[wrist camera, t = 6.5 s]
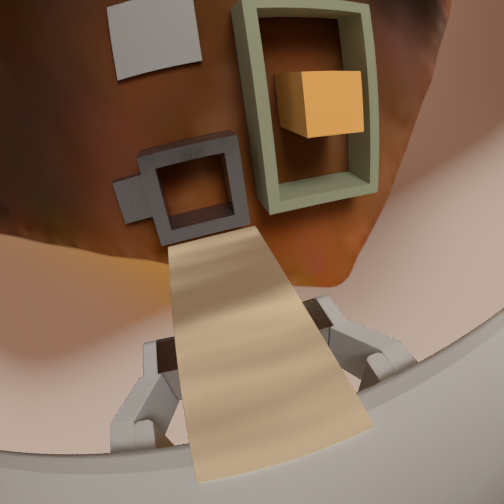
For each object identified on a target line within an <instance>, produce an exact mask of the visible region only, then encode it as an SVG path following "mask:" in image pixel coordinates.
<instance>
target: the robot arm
mask: <svg viewBox="0 0 504 504" xmlns="http://www.w3.org/2000/svg"><path fill="white" fill-rule="evenodd" d="M302 303H303V305H304V306H305V308H306V310H307V311H308V313H309V315H310V316H311V318H312V320H313V321H314V323H315V325H316V326H317V328H318V330H319V331H320V333H321V335H322V336H323V338H324V340H325V341H326V343H327V345H328V346H329V348H330V350H331V351H332V353H333V355H334V357H335V358H336V360H337V362H338V363H339V365H340V367H341V368H342V369H344V370H346V371H347V372H349V373H351V374H352V375H354V376H356V377H357V378H359V379H361V384H360V387H359V390H358V392H356V394H357V396H358V397H359V399H360V401H361V403H362V404H363V406H364V408H365V409H366V411H367V413H368V415H369V416H370V418H371V420H372V422H373V423H374V427H373V428H371V429H369V430H367V431H364V432H362V433H360V434H358V435H356V436H353V437H351V438H349V439H346V440H344V441H342V442H339V443H337V444H334V445H332V446H329V447H327V448H324V449H322V450H319V451H316V452H313V453H311V454H308V455H305V456H302V457H299V458H296V459H293V460H290V461H287V462H284V463H281V464H277V465H274V466H270V467H267V468H263V469H260V470H256V471H252V472H248V473H244V474H240V475H235V476H231V477H226V478H222V479H216V480H211V481H206V482H200V483H198V482H197V479H196V474H195V469H194V464H193V459H192V454H191V449H190V443H188V444H182V445H177V446H174V445H173V444H172V443H171V442H170V440H169V439H168V438H167V437H166V436H165V433H166V430H167V428H168V426H169V424H170V421H171V419H172V416H173V414H174V412H175V409H176V407H177V405H178V403H179V401H178V400H182V394H181V387H180V380H179V372H178V364H177V355H176V346H175V337H169V338H164V339H159V340H156V341H151V342H145V343H144V345H143V377H141V378H139V380H138V381H137V383H136V385H135V386H134V388H133V389H132V391H131V392H130V394H129V395H128V397H127V398H126V400H125V402H124V403H123V405H122V406H121V408H120V409H119V411H118V413H117V414H116V415H115V417H114V419H113V420H112V422H111V424H110V441H111V442H110V445H111V446H110V447H111V453H104V454H69V455H68V454H66V455H65V454H36V453H22V452H11V451H2V450H0V504H504V308H503V309H502V310H500V311H499V312H498V313H496V314H495V315H494V316H492V317H491V318H489V319H488V320H487V321H485V322H484V323H482V324H481V325H479V326H478V327H476V328H475V329H473V330H472V331H470V332H469V333H467V334H466V335H464V336H463V337H461V338H459V339H458V340H457V341H455V342H453V343H451V344H450V345H448V346H447V347H445V348H443V349H441V350H440V351H438V352H436V353H435V354H433V355H431V356H429V357H427V358H426V359H424V360H422V361H420V362H417V361H416V359H415V358H414V357H413V356H412V354H411V353H410V352H409V350H408V349H407V348H406V346H405V345H404V344H403V343H402V341H400V340H398V339H395V338H393V337H390V336H388V335H386V334H383V333H381V332H378V331H375V330H373V329H371V328H368V327H366V326H364V325H361V324H359V323H356V322H354V321H352V320H349V321H346V319H345V318H344V316H343V315H342V313H341V312H340V311H339V309H338V308H337V307H336V305H335V304H334V302H333V301H332V300H331V298H330V297H329V296H328V295H327V294H326V295H322V296H320V297H316V298H314V299H310V300H307V301H304V302H302Z"/></svg>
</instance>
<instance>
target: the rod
mask: <svg viewBox="0 0 504 504" xmlns="http://www.w3.org/2000/svg"><path fill="white" fill-rule="evenodd" d="M168 257H169V275H170V290H171V304H172V315H173V325H174V337H175V346H176V355H177V364H178V372H179V380H180V387H181V394H182V401H183V408H184V414H185V420H186V426H187V432H188V438H189V443H190V449H191V454H192V459H193V464H194V469H195V474H196V479H197V482H198V483H200V482H206V481H211V480H216V479H222V478H226V477H231V476H235V475H240V474H244V473H248V472H252V471H256V470H260V469H263V468H267V467H270V466H274V465H277V464H281V463H284V462H287V461H290V460H293V459H296V458H299V457H302V456H305V455H308V454H311V453H313V452H316V451H319V450H322V449H324V448H327V447H329V446H332V445H334V444H337V443H339V442H342V441H344V440H346V439H349V438H351V437H353V436H356V435H358V434H360V433H362V432H364V431H367V430H369V429H371V428H373V427H374V423H373V422H372V420H371V418H370V416H369V415H368V413H367V411H366V409H365V408H364V406H363V404H362V403H361V401H360V399H359V397H358V396H357V394H356V392H355V391H354V389H353V387H352V385H351V384H350V382H349V380H348V379H347V377H346V375H345V374H344V372H343V370H342V368H341V367H340V365H339V363H338V362H337V360H336V358H335V357H334V355H333V353H332V351H331V350H330V348H329V346H328V345H327V343H326V341H325V340H324V338H323V336H322V335H321V333H320V331H319V330H318V328H317V326H316V325H315V323H314V321H313V320H312V318H311V316H310V315H309V313H308V311H307V310H306V308H305V306H304V305H303V303H302V302H301V300H300V298H299V296H298V295H297V293H296V291H295V290H294V288H293V287H292V285H291V283H290V282H289V280H288V278H287V277H286V275H285V273H284V272H283V270H282V269H281V267H280V265H279V264H278V262H277V260H276V259H275V257H274V255H273V254H272V252H271V251H270V249H269V247H268V246H267V244H266V242H265V241H264V239H263V238H262V236H261V234H260V233H259V231H258V230H257V228H256V226H252V227H247V228H243V229H239V230H235V231H231V232H227V233H223V234H218V235H214V236H210V237H206V238H202V239H198V240H194V241H190V242H186V243H182V244H178V245H174V246H170V247H168Z"/></svg>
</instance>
